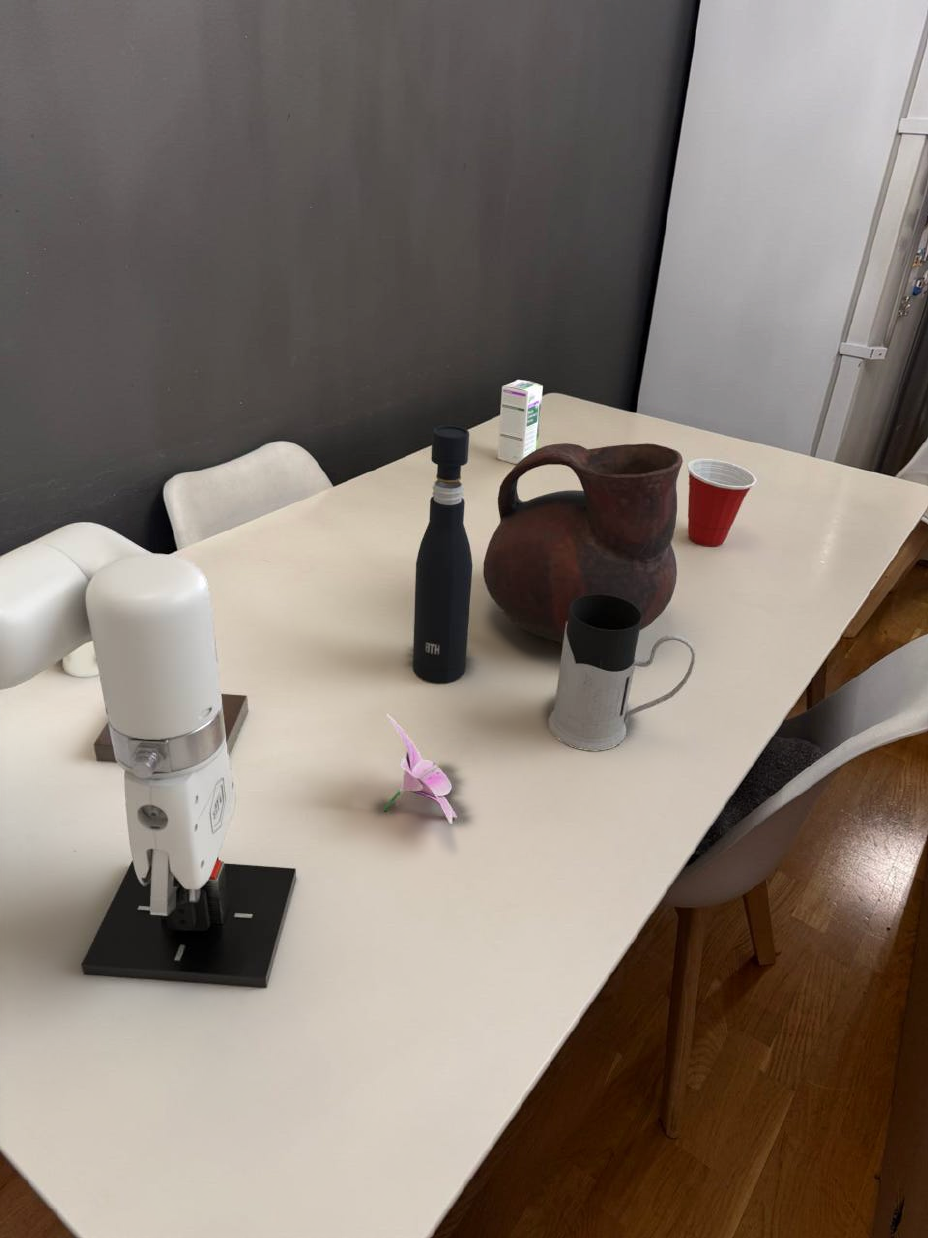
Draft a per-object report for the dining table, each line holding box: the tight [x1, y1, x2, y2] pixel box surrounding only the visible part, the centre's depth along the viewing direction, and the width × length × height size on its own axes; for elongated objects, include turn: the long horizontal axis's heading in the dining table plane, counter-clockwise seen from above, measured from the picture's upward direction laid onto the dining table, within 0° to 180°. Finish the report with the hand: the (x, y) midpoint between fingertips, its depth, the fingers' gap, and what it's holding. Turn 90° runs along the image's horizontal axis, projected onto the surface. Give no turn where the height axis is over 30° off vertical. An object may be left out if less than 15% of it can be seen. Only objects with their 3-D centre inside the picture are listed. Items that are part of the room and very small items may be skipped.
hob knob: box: [160, 859, 229, 924], centre depth 70 cm, size 5×2×5 cm, turn 88°
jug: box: [482, 442, 684, 644], centre depth 113 cm, size 25×25×25 cm
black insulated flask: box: [412, 425, 473, 685], centre depth 100 cm, size 6×6×30 cm
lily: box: [382, 712, 458, 824], centre depth 84 cm, size 12×12×10 cm
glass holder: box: [548, 594, 696, 751], centre depth 95 cm, size 9×14×15 cm, turn 73°
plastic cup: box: [687, 458, 758, 547], centre depth 141 cm, size 11×11×12 cm
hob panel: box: [80, 859, 297, 989], centre depth 72 cm, size 14×11×3 cm
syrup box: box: [497, 379, 544, 465], centre depth 167 cm, size 6×6×14 cm
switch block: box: [93, 693, 249, 763], centre depth 93 cm, size 13×10×4 cm
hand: (195, 908), depth 71 cm, fingers closed
